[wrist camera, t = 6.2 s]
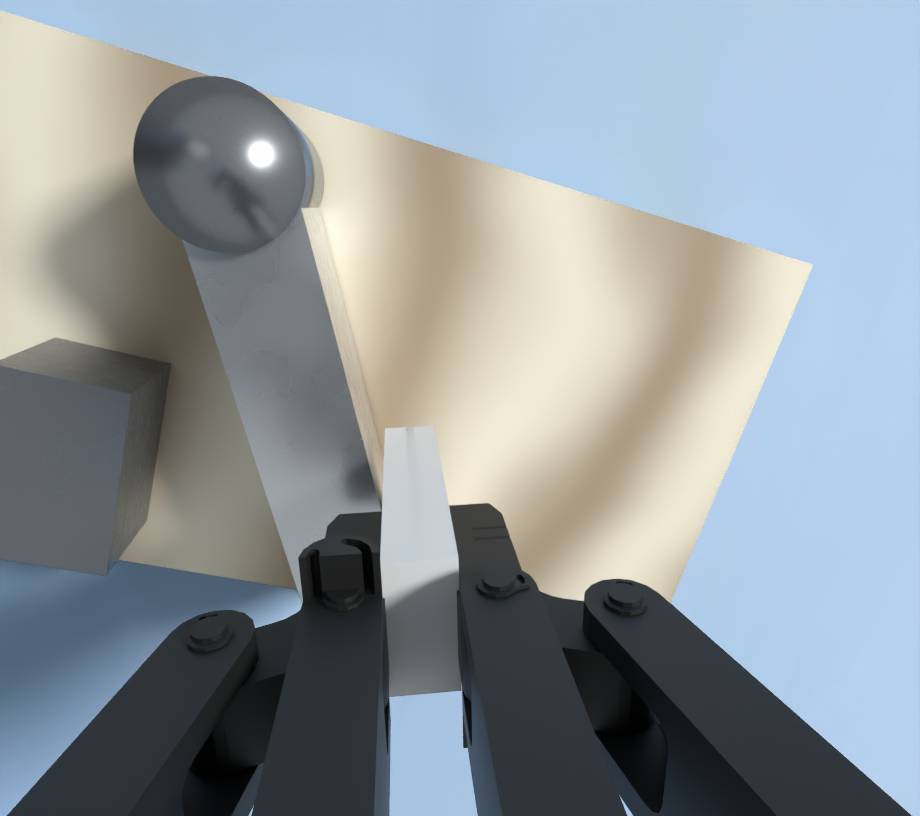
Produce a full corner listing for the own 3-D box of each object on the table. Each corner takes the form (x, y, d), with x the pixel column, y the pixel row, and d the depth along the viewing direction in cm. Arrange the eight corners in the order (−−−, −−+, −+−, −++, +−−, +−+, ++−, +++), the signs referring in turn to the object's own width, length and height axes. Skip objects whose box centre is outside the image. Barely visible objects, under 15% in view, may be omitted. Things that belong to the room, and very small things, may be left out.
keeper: (38, 501, 18) (-24, 555, 15) (55, 337, 17) (-10, 363, 14) (147, 520, 19) (105, 576, 16) (171, 363, 18) (131, 393, 15)
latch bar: (179, 123, 16) (107, 94, 12) (305, 99, 16) (279, 61, 12) (320, 574, 20) (304, 671, 16) (418, 551, 20) (427, 640, 16)
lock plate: (-64, 500, 19) (-99, 524, 18) (-37, 5, 16) (-79, -15, 14) (635, 621, 24) (651, 647, 23) (783, 261, 20) (813, 264, 19)
